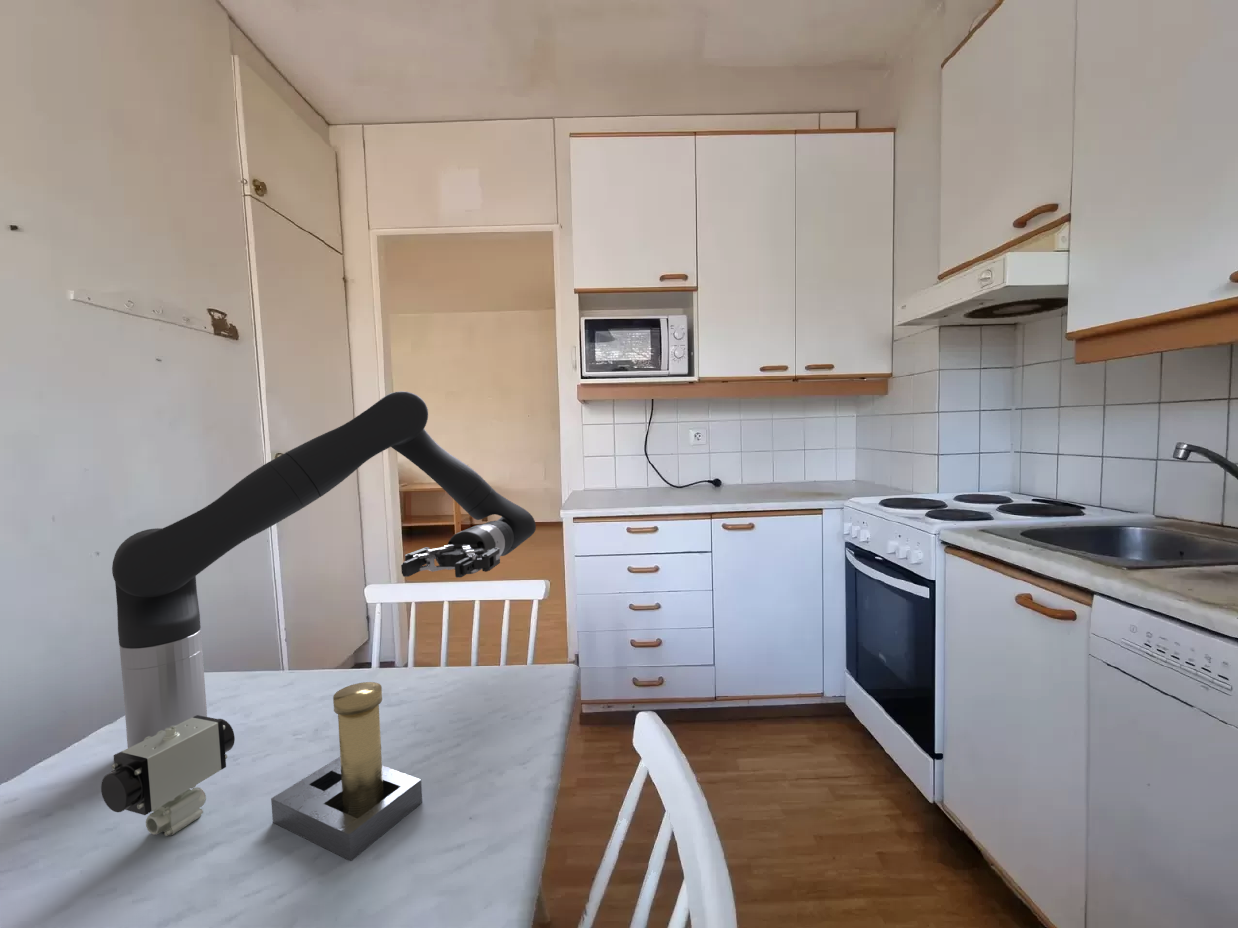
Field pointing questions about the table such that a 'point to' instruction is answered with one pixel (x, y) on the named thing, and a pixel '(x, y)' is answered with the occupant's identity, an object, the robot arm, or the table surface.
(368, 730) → the brass headed pin
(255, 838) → the table surface
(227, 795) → the table surface
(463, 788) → the table surface
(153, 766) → the pneumatic valve
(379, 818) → the plate
